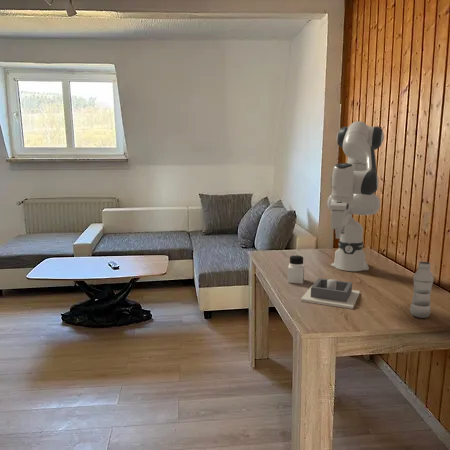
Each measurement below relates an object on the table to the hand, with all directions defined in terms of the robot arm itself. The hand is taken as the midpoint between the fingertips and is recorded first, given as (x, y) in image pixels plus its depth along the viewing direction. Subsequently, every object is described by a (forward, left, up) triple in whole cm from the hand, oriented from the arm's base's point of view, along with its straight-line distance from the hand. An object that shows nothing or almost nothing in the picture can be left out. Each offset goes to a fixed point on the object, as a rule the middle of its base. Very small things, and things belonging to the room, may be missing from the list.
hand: (340, 236), depth 171 cm
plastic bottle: (+15, +32, -24) cm, 43 cm away
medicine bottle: (-7, -20, -24) cm, 32 cm away
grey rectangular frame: (+7, -1, -23) cm, 24 cm away
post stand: (+8, -1, -24) cm, 26 cm away
